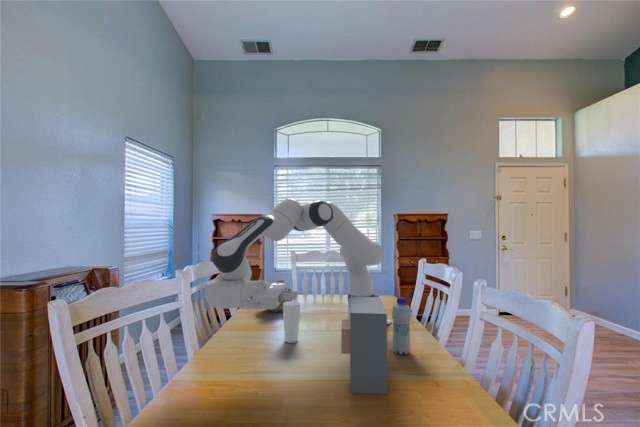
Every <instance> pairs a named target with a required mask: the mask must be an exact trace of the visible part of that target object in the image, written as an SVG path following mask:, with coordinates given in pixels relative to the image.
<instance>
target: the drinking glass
mask: <svg viewBox="0 0 640 427" xmlns="http://www.w3.org/2000/svg"><path fill="white" fill-rule="evenodd" d="M300 316H301V304H300V301H299V302H298V301H297V300H296V301H295V300H292V301H288V302H284V303H283V311H282V318H283V331H284V337H283V338H284V342H286V343H288V344H294V343H297V342H298V340H299V329H300V328H299V326H300Z"/></svg>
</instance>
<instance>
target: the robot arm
mask: <svg viewBox="0 0 640 427" xmlns="http://www.w3.org/2000/svg"><path fill="white" fill-rule="evenodd" d="M320 227H323V228H324V230H325V231H326V232H327V233H328V234H329V235H330V236H331V238H332V239H333V241H335V243H336V244H338V245H339V246H340V248H339V253H340V257H341V258H342V260H343V261H344V264H345V268H346V271H347V278H348V293H347V303H348V304H347V305H348V306H347V312H346V314H347V315H346V319H345V320H350V296H358V297H380V294H377V293H373V287H374V286H373V280H374V279H373V276H372V274H371V273H370V272H369V270H368V267H369V266H377V265H379V264H380V263H381V262H382V261H383V259H384V257H385V253H384V252H385V251H384V249H383V247H382V245H381V244H378V243H377V242H375V241H373V240H372V239H371V238H369V237H368V236H367V235H365V234H364V233H363V232H362V231H361V230H359V229H358V228H357V227H356V226H355V225H354V223H353V222H352V221H351V220H350V219H349V217H348V216H347V215H346V214H345V213H344V212H343V210H341V209H340V208H339V207H338V206H337V205H336V204H334V203H333V202H331V201H324V200H314V201H312V202H306V203H304V204H301V203H300V202H299V201H298V200H296V199H294V198H289V197H288V198H285V199H283V200H281V202H279V203H278V204H276V205H275V206H274V208H272V209H271V210H270V211H269V212H268V213H267V214H266V215H265V214H264V215H259V216H258V217H256V218H255V219H253V220H252V221H251V222H250V223H248V224H247V225H245V227H242V229H240V230H239V231H238V232H237V233H236V234H234V235H233V236H231V237H230V238H229V239H226V240H225V241H223V242H221V243H220V244H218V245H217V246H216V247H215V248H214V250H213V252H212V254H211V262H212V263H213V265H214V266H215V267H216V270H218V272H219V273H218V274H217V276H216V277H215V278H213V279H212V280H211V281H209V282H207V283H206V284H205V285H204V289H203V295H204V300H205V302H206V303H207V305H208V306H209V307H212V308H217V309H226V310H228V309H229V310H231V309H242V310H260V309H261V310H266V309H276V308H277V306H278V305H279V304H280V303H281V301H285V300H290V299H292V300H296V299H297V298H298V296H299V292H298V291H293V290H292V291H289V290H288V289H289V284H288V283H286V282H284V283H279V282H277V281H267V280H265V279H260V280H251V279H252V276H253V275H252V274H253V272H252V268H251V265H250V263H249V261H248V258H247V255H246V254H247V250H248V248H249V247H250V246H252V245H253V244H254V243H255V242H256V241H257V240H258V239H259V238H261V237H262V236H263V237H264V238H266V239H268V240H269V241H272V242H279V241H282V240H284V239H285V238H286V237H288V235H289V234H290V233H291V232H292V230H295V231H298V232H304V231H311V230H314V229H317V228H320ZM387 324H388V325H390V324H392V320H391V319H390V318H388V317H387Z"/></svg>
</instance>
